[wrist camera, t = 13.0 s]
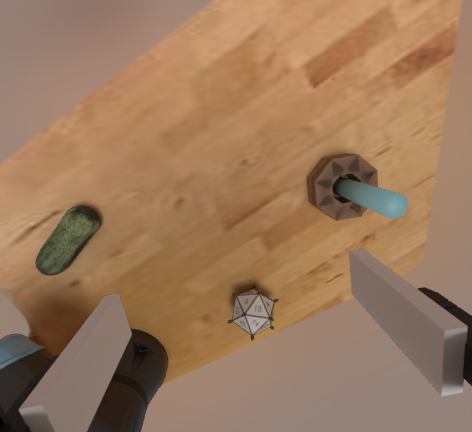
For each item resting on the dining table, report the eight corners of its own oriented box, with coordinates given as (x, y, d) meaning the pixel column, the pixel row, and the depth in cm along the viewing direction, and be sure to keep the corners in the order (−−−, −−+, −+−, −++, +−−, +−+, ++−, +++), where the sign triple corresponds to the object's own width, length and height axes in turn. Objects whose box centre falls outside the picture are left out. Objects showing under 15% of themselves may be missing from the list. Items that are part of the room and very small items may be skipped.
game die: (256, 282, 55) (295, 294, 47) (249, 325, 54) (288, 344, 46) (221, 279, 49) (258, 292, 41) (212, 327, 48) (249, 350, 40)
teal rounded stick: (329, 195, 47) (383, 220, 31) (328, 178, 46) (382, 196, 31) (346, 191, 47) (408, 216, 31) (345, 174, 46) (408, 191, 31)
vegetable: (82, 197, 45) (65, 203, 40) (109, 216, 46) (96, 224, 41) (39, 258, 47) (19, 271, 42) (66, 274, 48) (49, 289, 43)
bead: (310, 217, 48) (318, 223, 44) (305, 160, 45) (313, 162, 41) (365, 207, 48) (378, 213, 44) (363, 150, 45) (376, 151, 41)
